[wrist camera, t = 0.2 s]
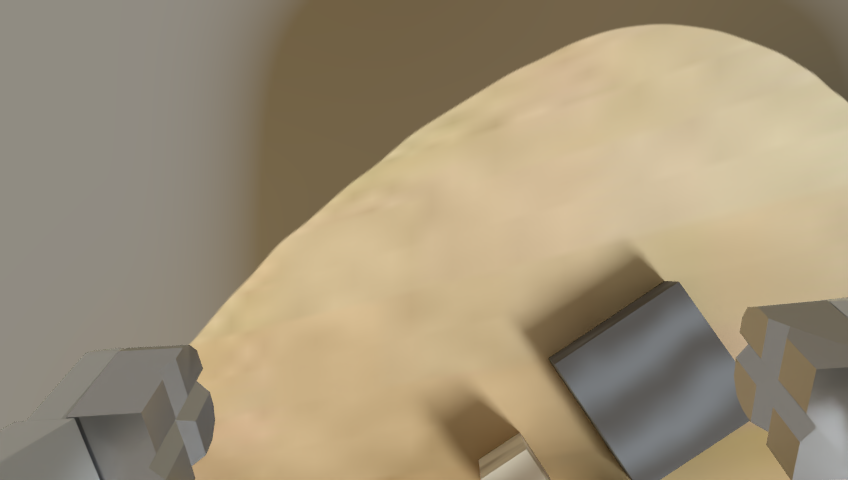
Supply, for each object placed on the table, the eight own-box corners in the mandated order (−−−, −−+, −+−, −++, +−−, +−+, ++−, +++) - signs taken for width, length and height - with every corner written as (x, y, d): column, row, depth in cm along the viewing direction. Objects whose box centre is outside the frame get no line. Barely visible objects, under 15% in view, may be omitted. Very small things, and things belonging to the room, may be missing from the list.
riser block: (747, 399, 60) (768, 408, 57) (629, 477, 61) (641, 492, 57) (664, 281, 62) (678, 281, 58) (548, 358, 62) (554, 364, 58)
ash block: (548, 474, 61) (557, 496, 55) (506, 502, 61) (511, 527, 55) (520, 432, 62) (526, 449, 56) (478, 459, 62) (480, 479, 56)
